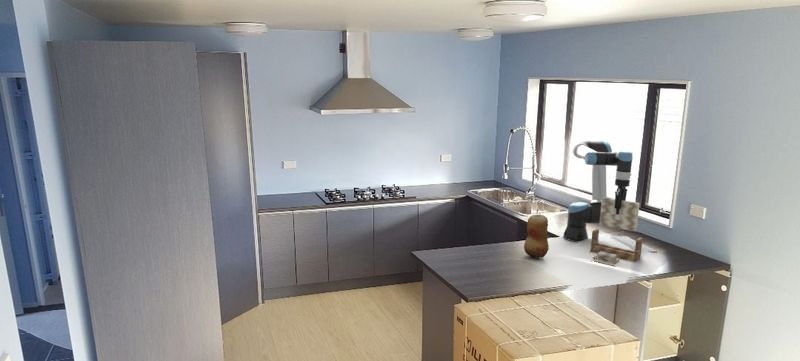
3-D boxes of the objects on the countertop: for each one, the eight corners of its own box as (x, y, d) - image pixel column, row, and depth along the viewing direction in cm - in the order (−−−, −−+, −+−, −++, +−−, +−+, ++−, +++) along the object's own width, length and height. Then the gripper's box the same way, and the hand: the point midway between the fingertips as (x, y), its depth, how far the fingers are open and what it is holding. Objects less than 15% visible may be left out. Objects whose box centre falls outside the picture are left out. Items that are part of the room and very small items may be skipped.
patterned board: (599, 224, 297) (601, 197, 294) (600, 223, 299) (603, 197, 296) (635, 231, 284) (638, 203, 281) (636, 230, 286) (639, 203, 283)
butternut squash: (518, 257, 289) (521, 214, 285) (530, 252, 299) (533, 211, 295) (541, 263, 280) (544, 219, 276) (552, 257, 290) (555, 215, 285)
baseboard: (638, 253, 303) (656, 253, 305) (639, 249, 303) (657, 248, 305) (609, 238, 333) (626, 238, 335) (610, 234, 333) (626, 234, 335)
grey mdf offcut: (596, 257, 284) (597, 253, 284) (599, 255, 289) (600, 251, 289) (613, 261, 279) (613, 257, 278) (616, 258, 284) (616, 254, 283)
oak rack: (588, 254, 298) (590, 231, 296) (596, 249, 307) (598, 228, 305) (634, 264, 281) (637, 241, 279) (641, 259, 290) (644, 237, 288)
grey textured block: (592, 262, 286) (593, 257, 285) (597, 259, 291) (597, 254, 290) (614, 267, 278) (615, 262, 277) (618, 264, 283) (619, 259, 283)
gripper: (624, 181, 278) (620, 223, 282) (634, 178, 289) (629, 218, 294) (610, 179, 283) (606, 220, 287) (620, 176, 294) (616, 215, 299)
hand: (618, 219), depth 291 cm, fingers closed on patterned board, 2 cm apart
